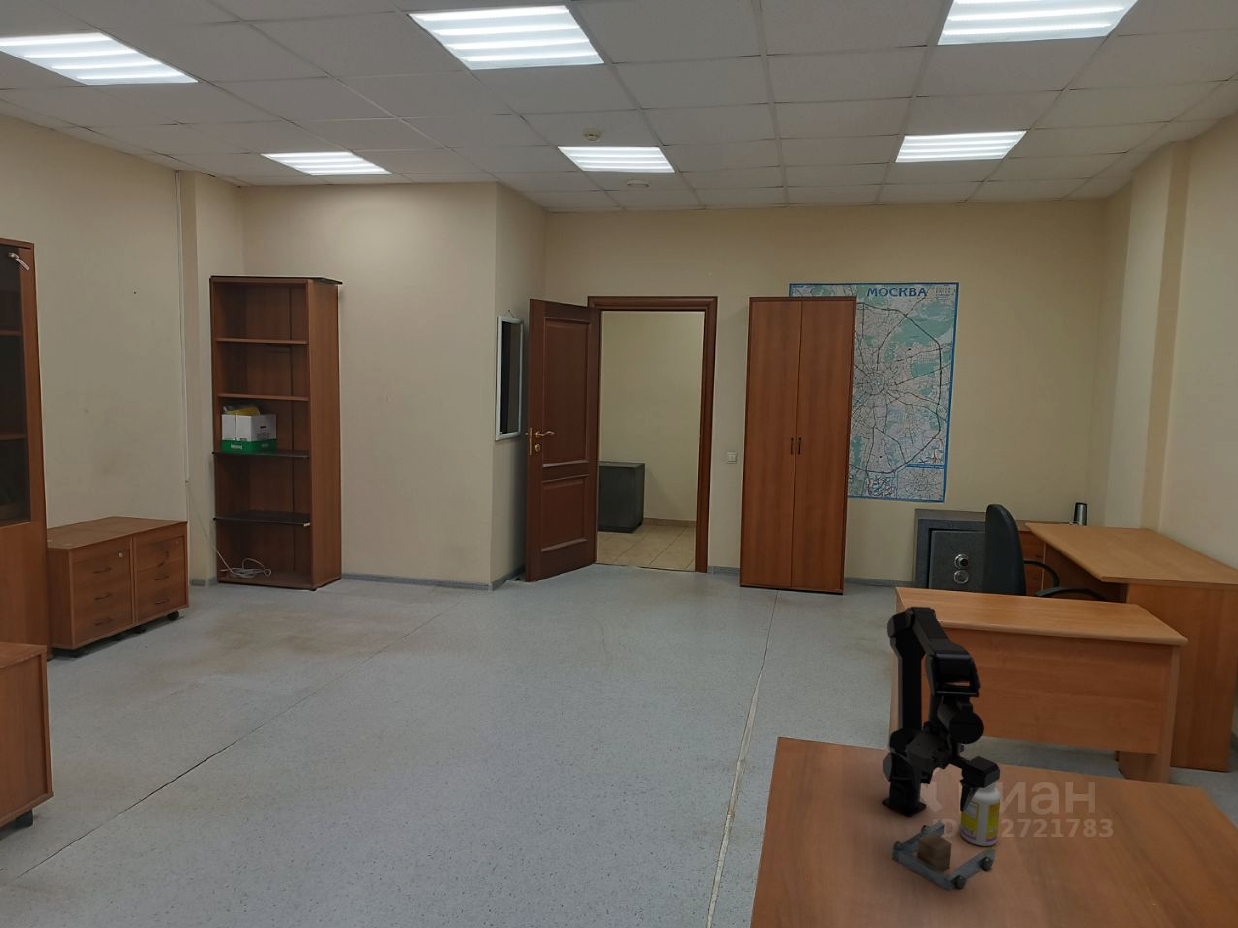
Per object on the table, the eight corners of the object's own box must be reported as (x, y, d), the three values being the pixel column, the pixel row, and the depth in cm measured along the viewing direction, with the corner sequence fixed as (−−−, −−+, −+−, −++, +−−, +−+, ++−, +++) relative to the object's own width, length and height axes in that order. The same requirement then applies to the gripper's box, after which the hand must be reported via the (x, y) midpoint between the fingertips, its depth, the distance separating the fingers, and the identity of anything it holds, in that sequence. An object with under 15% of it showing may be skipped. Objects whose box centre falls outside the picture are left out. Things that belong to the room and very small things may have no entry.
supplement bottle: (995, 831, 163) (1000, 770, 161) (998, 850, 157) (1004, 786, 155) (958, 824, 165) (963, 763, 163) (960, 842, 159) (965, 780, 157)
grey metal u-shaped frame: (933, 828, 164) (934, 818, 163) (999, 862, 153) (1000, 852, 153) (887, 855, 154) (888, 845, 154) (954, 893, 144) (955, 883, 144)
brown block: (916, 863, 152) (918, 838, 152) (931, 856, 154) (933, 832, 154) (934, 875, 149) (936, 849, 148) (949, 868, 151) (951, 843, 150)
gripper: (873, 710, 150) (867, 790, 152) (970, 750, 135) (962, 839, 138) (909, 695, 157) (903, 773, 159) (1005, 732, 142) (997, 817, 144)
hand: (938, 799), depth 150 cm, fingers open, 9 cm apart
